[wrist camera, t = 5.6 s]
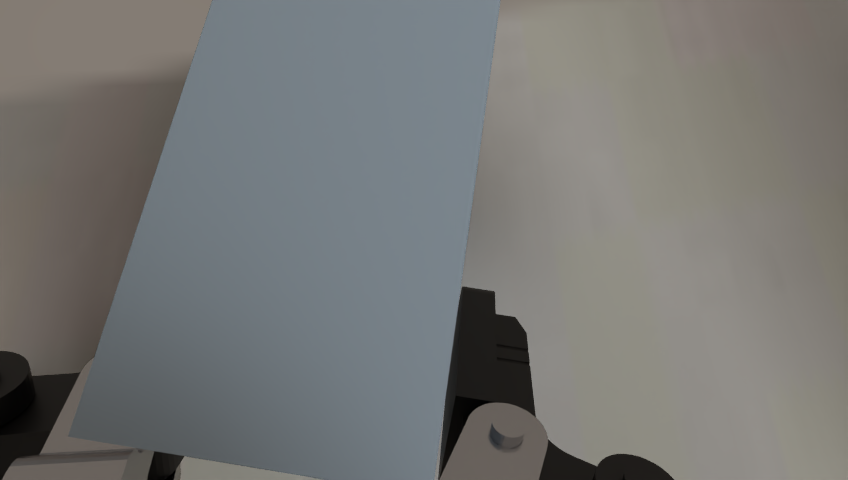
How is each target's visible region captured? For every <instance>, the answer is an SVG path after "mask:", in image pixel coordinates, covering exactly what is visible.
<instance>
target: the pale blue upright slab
mask: <svg viewBox="0 0 848 480" xmlns="http://www.w3.org/2000/svg"><path fill="white" fill-rule="evenodd" d="M499 7H500V0H212V3H211V6H210V9H209V12H208V15H207V18H206V21H205V24H204V27H203V31H202V33H201V36H200V39H199V42H198V45H197V49H196V51H195V54H194V57H193V60H192V63H191V66H190V69H189V72H188V75H187V78H186V81H185V84H184V87H183V91H182V94H181V97H180V100H179V103H178V106H177V109H176V112H175V115H174V118H173V121H172V124H171V127H170V130H169V133H168V136H167V139H166V142H165V145H164V148H163V151H162V154H161V157H160V160H159V163H158V166H157V169H156V172H155V175H154V178H153V181H152V184H151V187H150V190H149V193H148V196H147V199H146V202H145V205H144V208H143V211H142V214H141V217H140V220H139V223H138V226H137V229H136V232H135V236H134V239H133V242H132V245H131V248H130V251H129V254H128V257H127V260H126V263H125V266H124V269H123V272H122V275H121V278H120V281H119V284H118V287H117V290H116V293H115V296H114V299H113V302H112V305H111V308H110V311H109V314H108V317H107V320H106V323H105V326H104V329H103V332H102V335H101V338H100V341H99V344H98V347H97V350H96V353H95V356H94V359H93V362H92V365H91V368H90V371H89V374H88V377H87V381H86V384H85V387H84V390H83V393H82V396H81V399H80V402H79V405H78V408H77V411H76V414H75V417H74V420H73V423H72V426H71V429H70V432H69V435H68V437H73V438H79V439H85V440H91V441H97V442H103V443H109V444H115V445H121V446H127V447H133V448H139V449H145V450H151V451H157V452H163V453H169V454H175V455H181V456H187V457H193V458H199V459H205V460H211V461H217V462H223V463H229V464H235V465H241V466H247V467H253V468H259V469H265V470H271V471H277V472H283V473H289V474H295V475H301V476H307V477H313V478H319V479H325V480H434V476H435V469H436V462H437V455H438V447H439V440H440V433H441V426H442V419H443V411H444V404H445V397H446V390H447V382H448V375H449V368H450V361H451V354H452V346H453V339H454V332H455V325H456V317H457V310H458V303H459V296H460V289H461V281H462V274H463V267H464V260H465V252H466V245H467V238H468V231H469V224H470V216H471V209H472V202H473V195H474V187H475V180H476V173H477V166H478V159H479V151H480V144H481V137H482V130H483V123H484V115H485V108H486V101H487V94H488V86H489V79H490V72H491V65H492V58H493V50H494V43H495V36H496V29H497V21H498V14H499Z"/></svg>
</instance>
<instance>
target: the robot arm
mask: <svg viewBox="0 0 848 480" xmlns="http://www.w3.org/2000/svg"><path fill="white" fill-rule="evenodd" d="M93 359H94V358H93ZM93 359H91V360H90V361H89V362H88V363H87V364H86V365H85V366H84V368H83V369H82V371H81V373H73V374H59V375H44V376H32V375H31V371H30V367H29V363H28V361H27V360H26V359H25V358H24V357H23V356H21V355H19V354H16V353H13V352H8V351H0V480H180V478H181V468H180V462H181V461H182V459H183V457H184V456H181V455H175V454H169V453H163V452H157V451H151V450H145V449H139V448H133V447H127V446H121V445H115V444H109V443H103V442H97V441H91V440H85V439H79V438H73V437H68V435H69V432H70V429H71V426H72V423H73V420H74V417H75V414H76V411H77V408H78V405H79V402H80V399H81V396H82V393H83V390H84V387H85V384H86V381H87V377H88V374H89V371H90V368H91V365H92V362H93ZM529 363H530V362H529V353H528V344H527V334H526V332H525V330H524V329H523V327H522V326H521V325H520V323H519V322H518V320H517V319H516V318H515V317H510V316H504V315H498V314H496V313H495V292H494V291H488V290H482V289H475V288H469V287H462V290H461V294H460V300H459V305H458V311H457V317H456V325H455V332H454V339H453V346H452V354H451V361H450V368H449V375H448V382H447V390H446V398H445V409H444V420H443V431H442V443H441V454H440V465H439V476H438V480H674V479H673V478H672V477H671V476H670V475H669V474H668V473H667V472H666V471H664V470H663V469H662V468H660V467H659V466H657V465H656V464H654V463H652V462H650V461H648V460H646V459H644V458H641V457H638V456H634V455H629V454H615V455H611V456H608V457H606V458H605V459H603V460H602V461H601V462H600V463H599V464H598V466H595V465H592V464H590V463H588V462H585V461H583V460H581V459H578V458H576V457H574V456H571V455H569V454H567V453H565V452H564V451H562V450H561V449H559V448H558V447H556V446H555V445H554V444H552V443H551V442H550V441H549V440H548V436H547V433H546V431H545V429H544V427H543V425H542V424H541V423H540V421H539V420H538V419H537V418H536V416H535V407H534V398H533V389H532V380H531V371H530V366H529Z"/></svg>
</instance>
